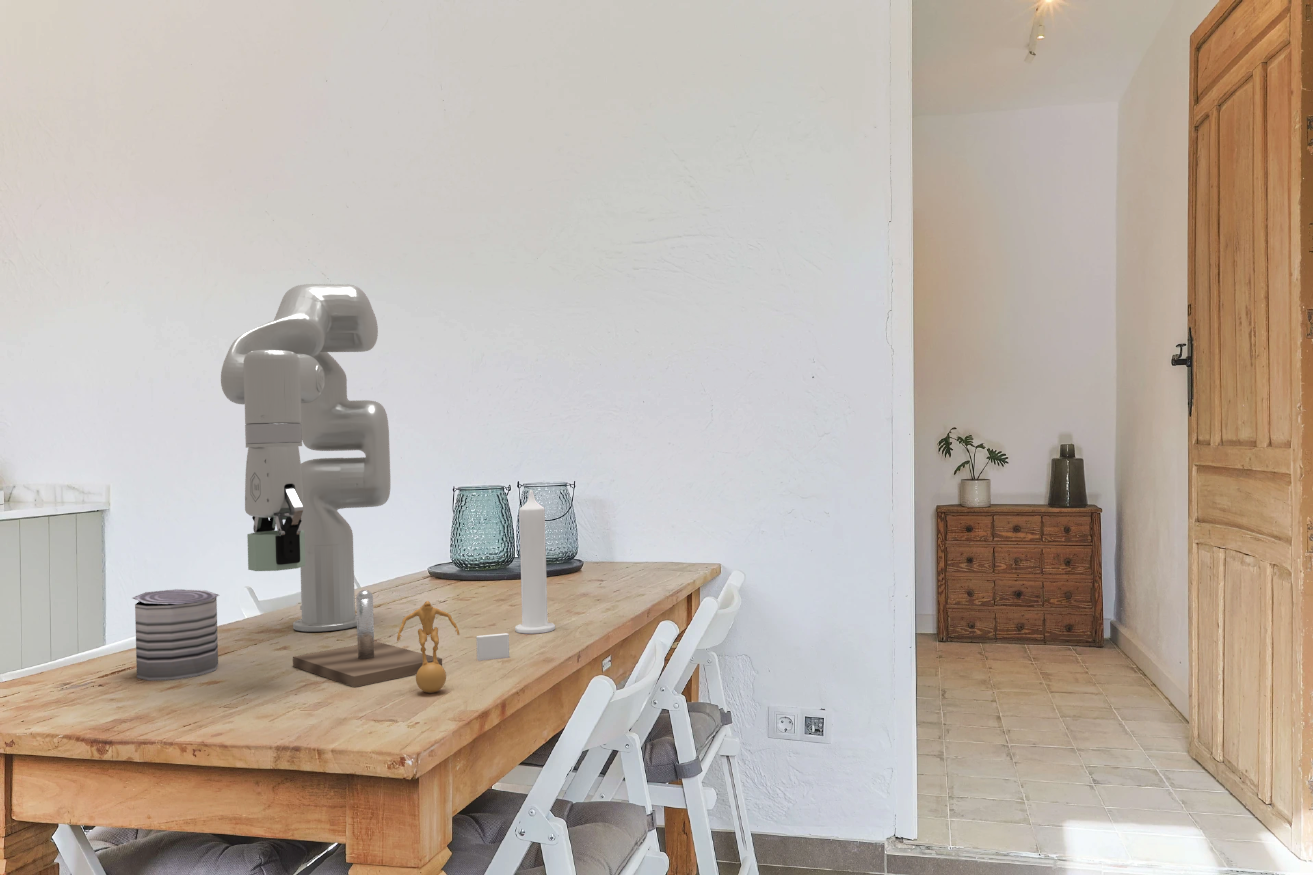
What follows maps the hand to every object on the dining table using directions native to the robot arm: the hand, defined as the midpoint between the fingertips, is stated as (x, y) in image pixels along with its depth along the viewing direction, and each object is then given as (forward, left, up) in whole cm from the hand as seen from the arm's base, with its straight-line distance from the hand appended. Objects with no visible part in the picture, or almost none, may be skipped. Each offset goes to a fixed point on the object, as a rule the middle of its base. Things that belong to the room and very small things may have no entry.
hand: (277, 560), depth 136 cm
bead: (0, 0, -1) cm, 1 cm away
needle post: (+1, +13, -16) cm, 20 cm away
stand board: (+1, +13, -17) cm, 22 cm away
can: (-20, -7, -18) cm, 28 cm away
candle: (-2, +47, -18) cm, 50 cm away
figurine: (+21, +12, -18) cm, 30 cm away
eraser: (+11, +29, -18) cm, 36 cm away
